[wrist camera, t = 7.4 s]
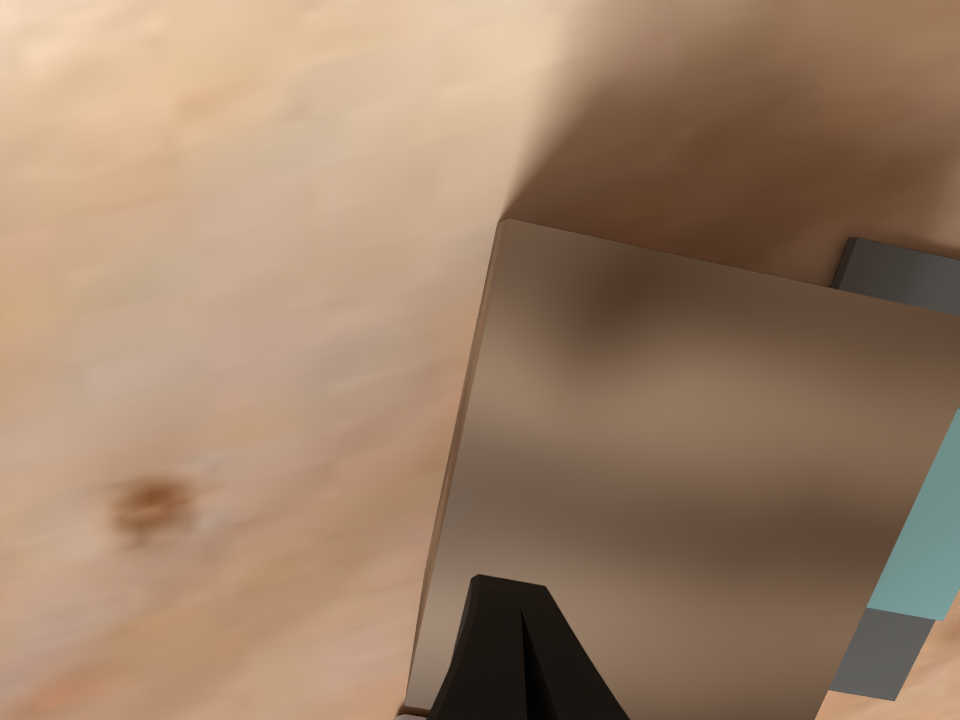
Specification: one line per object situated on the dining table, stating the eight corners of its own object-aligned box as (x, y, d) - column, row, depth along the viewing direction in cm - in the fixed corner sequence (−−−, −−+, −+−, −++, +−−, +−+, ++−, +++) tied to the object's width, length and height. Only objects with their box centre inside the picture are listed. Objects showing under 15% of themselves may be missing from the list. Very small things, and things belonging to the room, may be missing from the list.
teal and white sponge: (818, 598, 19) (793, 572, 20) (942, 621, 19) (909, 593, 21) (904, 397, 17) (870, 384, 18) (1042, 426, 17) (998, 411, 19)
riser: (706, 621, 21) (792, 767, 15) (424, 572, 21) (404, 705, 15) (828, 294, 18) (996, 324, 12) (497, 222, 17) (508, 218, 11)
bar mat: (887, 693, 22) (894, 701, 22) (691, 660, 22) (695, 667, 21) (1087, 290, 18) (1100, 291, 18) (849, 237, 18) (857, 237, 17)
